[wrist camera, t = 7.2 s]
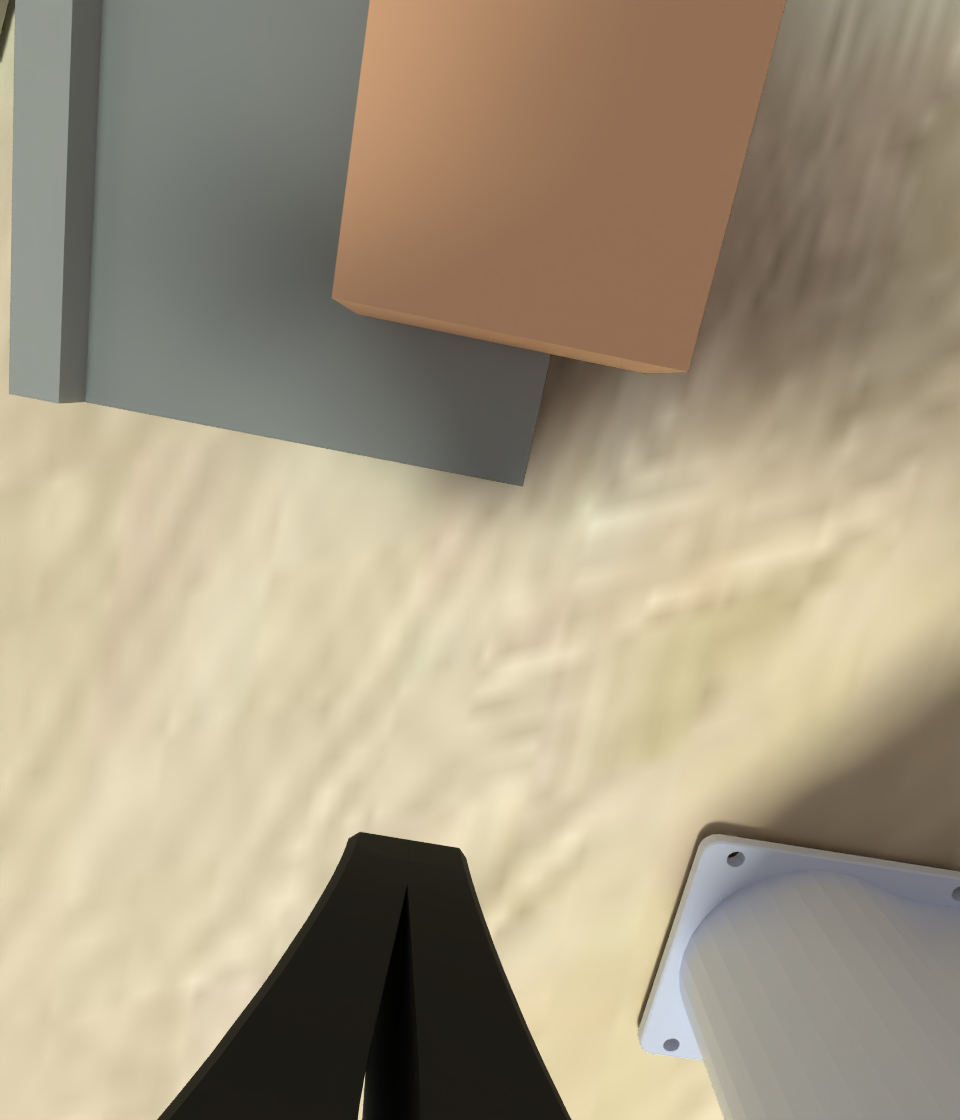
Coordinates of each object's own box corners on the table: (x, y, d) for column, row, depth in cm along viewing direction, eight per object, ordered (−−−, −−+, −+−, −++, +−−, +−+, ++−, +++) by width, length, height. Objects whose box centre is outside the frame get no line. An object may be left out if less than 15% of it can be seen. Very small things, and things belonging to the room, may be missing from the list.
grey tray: (664, -211, 13) (703, -323, 11) (518, 478, 17) (526, 493, 15) (98, -370, 12) (23, -524, 10) (69, 392, 16) (9, 394, 14)
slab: (830, -167, 10) (406, -284, 10) (687, 372, 12) (331, 297, 12) (747, -45, 13) (418, -130, 12) (644, 373, 15) (357, 314, 14)
